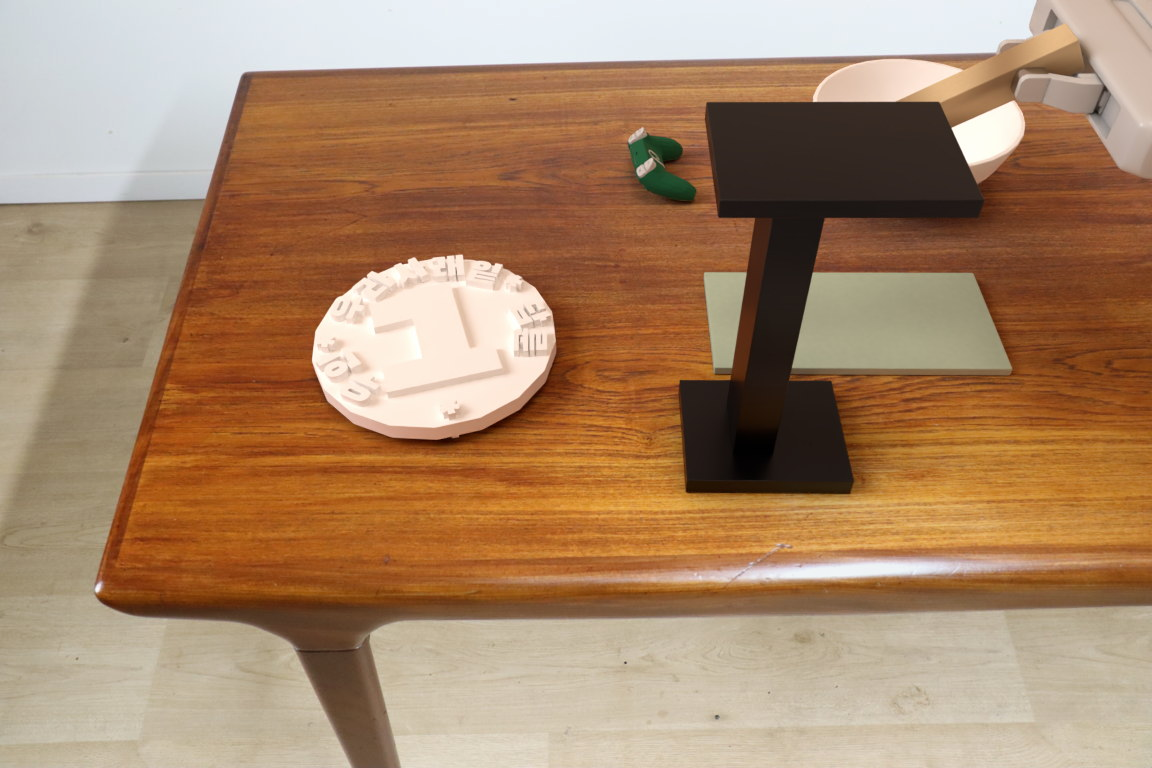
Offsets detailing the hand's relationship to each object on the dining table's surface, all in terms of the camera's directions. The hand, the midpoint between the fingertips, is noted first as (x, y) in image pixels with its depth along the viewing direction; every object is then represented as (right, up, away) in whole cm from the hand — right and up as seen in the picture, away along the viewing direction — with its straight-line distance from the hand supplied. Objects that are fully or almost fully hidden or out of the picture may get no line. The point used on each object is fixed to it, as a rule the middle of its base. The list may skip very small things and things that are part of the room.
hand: (1007, 70), depth 64 cm
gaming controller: (-21, -1, +32) cm, 38 cm away
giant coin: (-41, -19, +16) cm, 48 cm away
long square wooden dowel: (-5, -3, +4) cm, 7 cm away
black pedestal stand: (-14, -26, +9) cm, 30 cm away
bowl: (+3, -1, +32) cm, 32 cm away
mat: (-6, -16, +17) cm, 24 cm away
